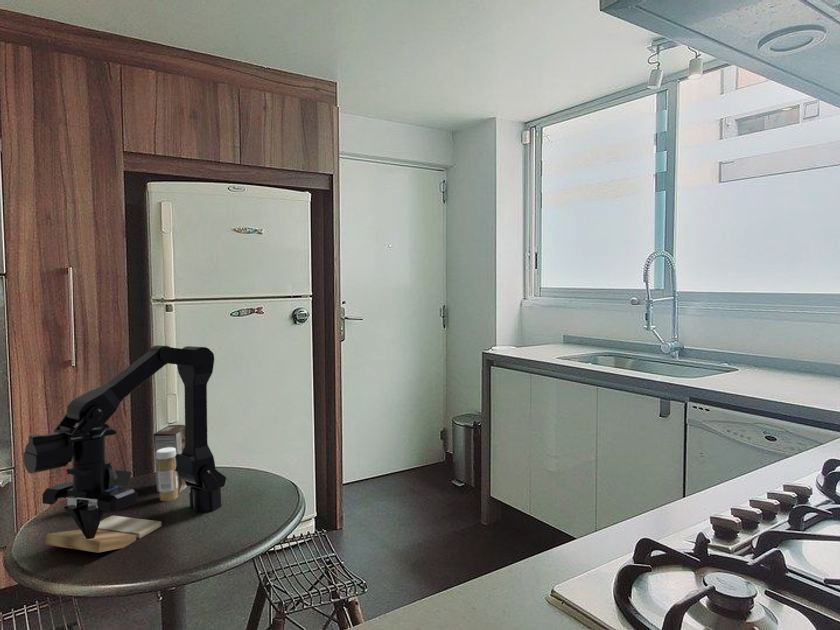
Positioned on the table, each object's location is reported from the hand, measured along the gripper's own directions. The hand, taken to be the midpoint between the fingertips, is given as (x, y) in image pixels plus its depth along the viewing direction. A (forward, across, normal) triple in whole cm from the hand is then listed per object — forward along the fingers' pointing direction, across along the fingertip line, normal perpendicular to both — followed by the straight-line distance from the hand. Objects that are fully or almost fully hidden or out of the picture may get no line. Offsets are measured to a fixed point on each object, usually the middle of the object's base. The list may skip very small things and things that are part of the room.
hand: (90, 539), depth 108 cm
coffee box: (+2, +13, -37) cm, 39 cm away
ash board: (+4, +3, -11) cm, 12 cm away
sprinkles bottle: (+3, +7, -28) cm, 29 cm away
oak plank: (+3, +3, -3) cm, 5 cm away
